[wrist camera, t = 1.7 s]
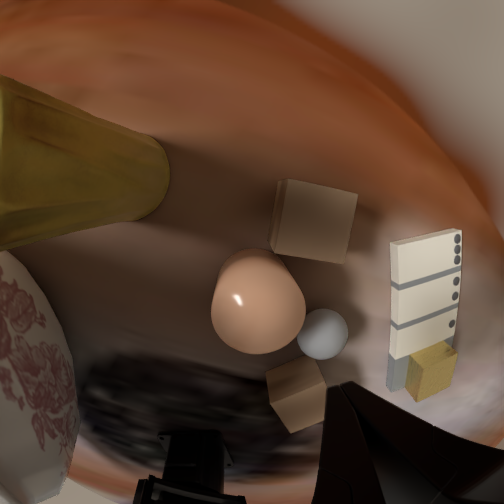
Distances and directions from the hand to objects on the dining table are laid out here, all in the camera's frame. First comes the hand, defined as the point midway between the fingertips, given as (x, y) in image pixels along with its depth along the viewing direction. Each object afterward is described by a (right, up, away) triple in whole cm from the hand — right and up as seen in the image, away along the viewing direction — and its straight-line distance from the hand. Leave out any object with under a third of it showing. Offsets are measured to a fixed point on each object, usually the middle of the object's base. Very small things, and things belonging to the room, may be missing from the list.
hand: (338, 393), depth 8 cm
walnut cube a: (+1, -6, +14) cm, 15 cm away
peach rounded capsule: (-3, +2, +12) cm, 12 cm away
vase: (-11, +10, +10) cm, 18 cm away
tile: (+13, -6, +13) cm, 20 cm away
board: (+12, -1, +13) cm, 18 cm away
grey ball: (+2, -1, +13) cm, 13 cm away
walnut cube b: (+1, +7, +11) cm, 13 cm away
